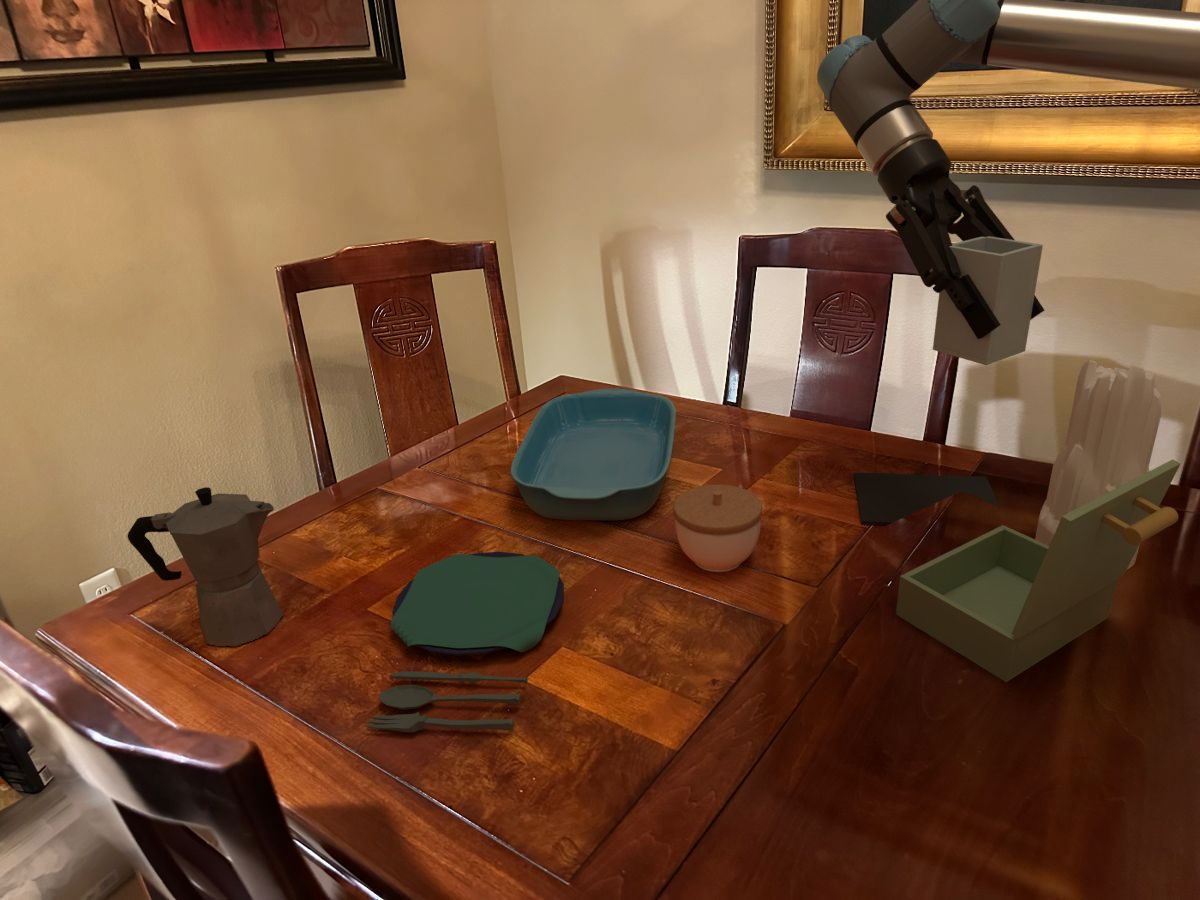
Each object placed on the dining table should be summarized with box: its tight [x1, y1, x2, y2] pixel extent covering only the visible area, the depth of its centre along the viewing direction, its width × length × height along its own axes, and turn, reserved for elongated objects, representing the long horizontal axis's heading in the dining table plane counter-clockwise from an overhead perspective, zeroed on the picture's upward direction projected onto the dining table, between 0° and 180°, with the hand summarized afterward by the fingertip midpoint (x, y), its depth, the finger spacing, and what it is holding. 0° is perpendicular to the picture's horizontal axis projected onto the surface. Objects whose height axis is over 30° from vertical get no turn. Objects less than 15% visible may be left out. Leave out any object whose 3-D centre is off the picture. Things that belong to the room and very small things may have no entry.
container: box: [932, 236, 1044, 366], centre depth 93 cm, size 7×7×12 cm
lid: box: [1011, 459, 1182, 639], centre depth 78 cm, size 14×17×4 cm
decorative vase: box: [1034, 359, 1162, 570], centre depth 96 cm, size 11×11×25 cm
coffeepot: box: [127, 486, 284, 647], centre depth 95 cm, size 15×9×18 cm, turn 102°
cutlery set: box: [365, 551, 565, 733], centre depth 93 cm, size 20×30×2 cm, turn 173°
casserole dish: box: [510, 387, 677, 522], centre depth 126 cm, size 37×22×7 cm, turn 172°
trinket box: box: [672, 484, 763, 573], centre depth 103 cm, size 11×11×9 cm
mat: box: [853, 471, 1001, 527], centre depth 115 cm, size 18×14×1 cm
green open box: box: [895, 524, 1119, 683], centre depth 90 cm, size 13×17×6 cm
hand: (1011, 324), depth 92 cm, fingers closed on container, 7 cm apart
